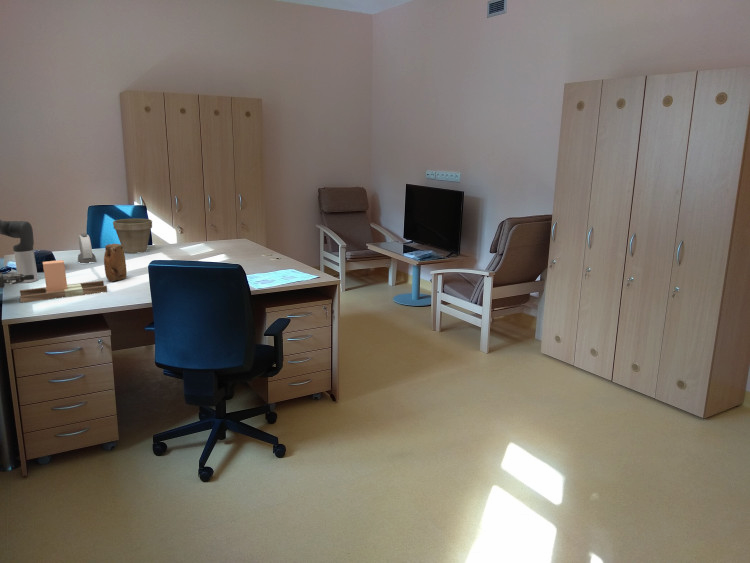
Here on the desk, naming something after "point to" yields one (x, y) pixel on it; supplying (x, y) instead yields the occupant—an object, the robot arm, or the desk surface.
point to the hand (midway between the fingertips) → (33, 276)
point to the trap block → (55, 275)
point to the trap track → (62, 291)
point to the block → (114, 262)
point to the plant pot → (133, 234)
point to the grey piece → (85, 250)
